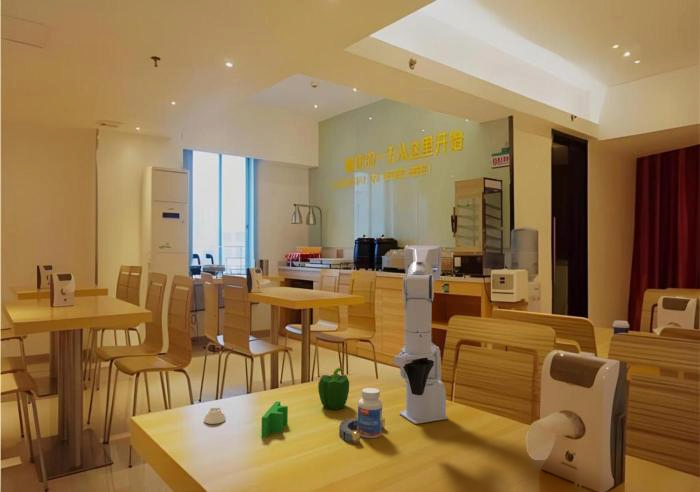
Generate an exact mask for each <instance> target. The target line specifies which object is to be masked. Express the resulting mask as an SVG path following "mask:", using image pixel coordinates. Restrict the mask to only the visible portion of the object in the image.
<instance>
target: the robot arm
mask: <svg viewBox="0 0 700 492" xmlns="http://www.w3.org/2000/svg"><path fill="white" fill-rule="evenodd" d="M403 251H404V252H403V253H404V254H403V256H404V257H403V261H404V263H403V264H404V272H405V275H406V277H403V279H402V299H403V310H404V345H403V347H402V348H400V353H398V354H396V355H394V361H393V362H394V363H393V365H394V366H396V367H399V369H400V370H399V372H400V377H402V379H404V382H405V385H406V386H405V410H401V411H398V414H399V415H401V416H402V417H404V418H406V420H408V421H410V422H412V423H413V424H416V425H418V424H424V423H430V422H436V421H443V420H447V419H448V418H449V417H448V416H447V391H446V390H447V389H446V386H445V384H444V382H443V381H442V380H441V379H442V374H441V373H442V371H441V370H442V367H441V366H442V363H441V362H442V356H441V350H440V346H437V345H436V344H435V343H433V342H432V312H433V311H432V306H433V305H432V302H433V301H434V297H435V295H434V294H435V293H434V290H435V286H434V285H435V282H436V281H438V280H440V278H441V275H442V264H443V263H442V262H443V261H442V257H443V256H442V255H443V253H442V252H443V251H442V246H441V245H440V244H439V245H410V244H406V246H404V250H403Z"/></svg>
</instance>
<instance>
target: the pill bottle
mask: <svg viewBox="0 0 700 492" xmlns="http://www.w3.org/2000/svg"><path fill="white" fill-rule="evenodd" d="M380 392H381V391H380V389H378V388H374V387H366V388H363V389H362V390H361V398H360V399H359V401H358V403H357V404H358V405H357V406H358V407H357V417H358V426H357V428H356V429H357V430H356V431H360V437H362V438H365V439H375V438H378V437H380V436H381V435H382V430H381V426H382V418H383V402H382V400H381V399H379V398H380V397H381V396H380V395H381V394H380Z"/></svg>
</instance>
